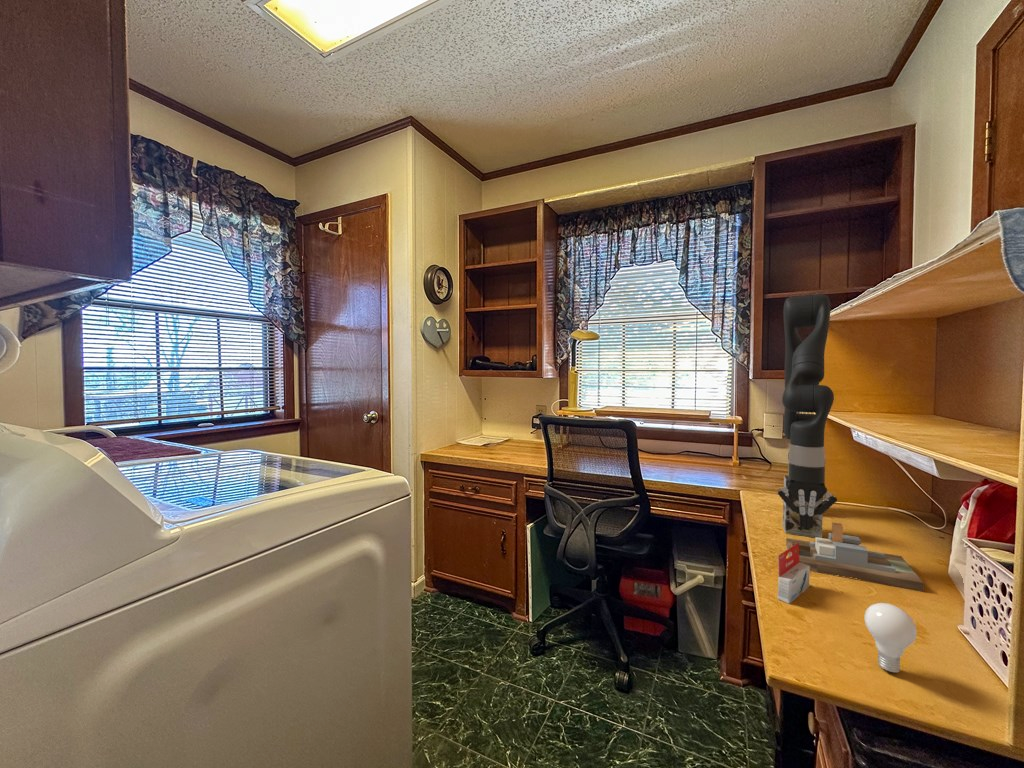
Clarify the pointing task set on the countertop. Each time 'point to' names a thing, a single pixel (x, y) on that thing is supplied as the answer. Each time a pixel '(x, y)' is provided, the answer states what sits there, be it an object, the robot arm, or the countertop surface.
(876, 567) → the tunnel
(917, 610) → the countertop surface
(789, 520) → the coffee box
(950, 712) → the countertop surface
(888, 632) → the lightbulb
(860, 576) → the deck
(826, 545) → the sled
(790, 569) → the ink cartridge box
